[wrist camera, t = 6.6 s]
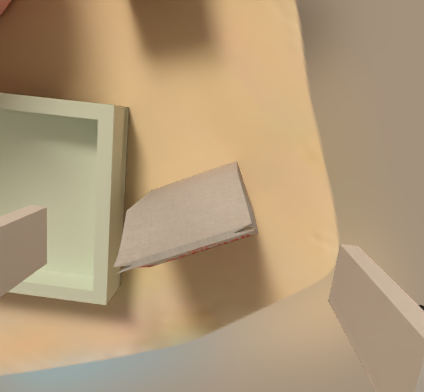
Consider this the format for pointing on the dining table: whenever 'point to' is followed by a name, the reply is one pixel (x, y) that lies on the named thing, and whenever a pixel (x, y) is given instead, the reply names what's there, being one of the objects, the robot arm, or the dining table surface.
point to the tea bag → (187, 218)
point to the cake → (4, 5)
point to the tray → (67, 189)
